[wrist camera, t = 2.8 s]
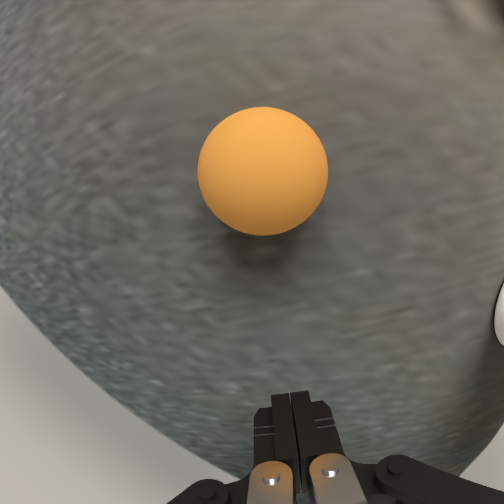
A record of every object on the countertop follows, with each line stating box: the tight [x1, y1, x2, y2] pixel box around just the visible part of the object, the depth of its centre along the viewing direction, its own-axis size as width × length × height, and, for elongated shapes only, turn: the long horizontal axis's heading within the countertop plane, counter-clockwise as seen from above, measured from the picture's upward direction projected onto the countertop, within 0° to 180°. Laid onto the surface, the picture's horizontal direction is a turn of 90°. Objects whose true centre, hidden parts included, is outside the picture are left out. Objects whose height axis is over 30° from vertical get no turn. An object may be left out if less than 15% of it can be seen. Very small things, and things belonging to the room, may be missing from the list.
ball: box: [198, 107, 328, 236], centre depth 13 cm, size 6×6×6 cm
